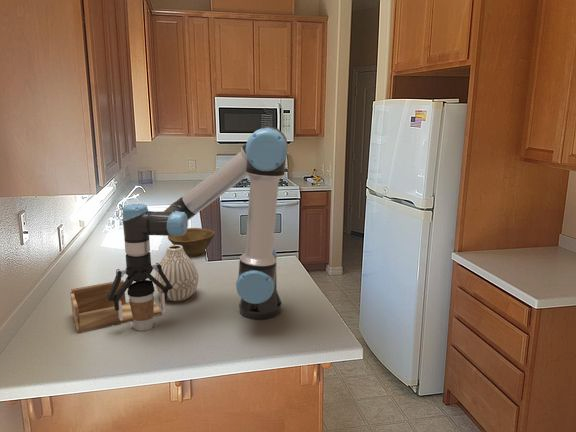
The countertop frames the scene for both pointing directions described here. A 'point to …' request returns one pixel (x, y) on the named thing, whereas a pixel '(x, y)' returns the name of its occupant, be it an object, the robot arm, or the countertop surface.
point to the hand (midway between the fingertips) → (142, 314)
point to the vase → (178, 274)
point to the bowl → (193, 240)
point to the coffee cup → (142, 304)
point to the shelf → (99, 307)
